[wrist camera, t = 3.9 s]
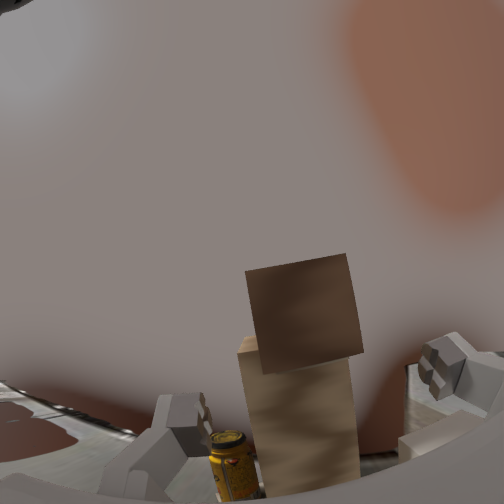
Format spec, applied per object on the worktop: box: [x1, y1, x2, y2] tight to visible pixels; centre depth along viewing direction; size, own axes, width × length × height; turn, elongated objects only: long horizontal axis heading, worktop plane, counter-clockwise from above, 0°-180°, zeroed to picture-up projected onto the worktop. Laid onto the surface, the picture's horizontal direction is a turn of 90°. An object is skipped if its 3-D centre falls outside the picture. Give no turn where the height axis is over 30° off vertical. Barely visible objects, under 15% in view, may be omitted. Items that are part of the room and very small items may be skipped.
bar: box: [245, 253, 364, 375], centre depth 21 cm, size 4×20×4 cm, turn 179°
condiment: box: [209, 431, 267, 502], centre depth 34 cm, size 7×8×12 cm
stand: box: [237, 335, 360, 498], centre depth 22 cm, size 7×13×26 cm, turn 179°
